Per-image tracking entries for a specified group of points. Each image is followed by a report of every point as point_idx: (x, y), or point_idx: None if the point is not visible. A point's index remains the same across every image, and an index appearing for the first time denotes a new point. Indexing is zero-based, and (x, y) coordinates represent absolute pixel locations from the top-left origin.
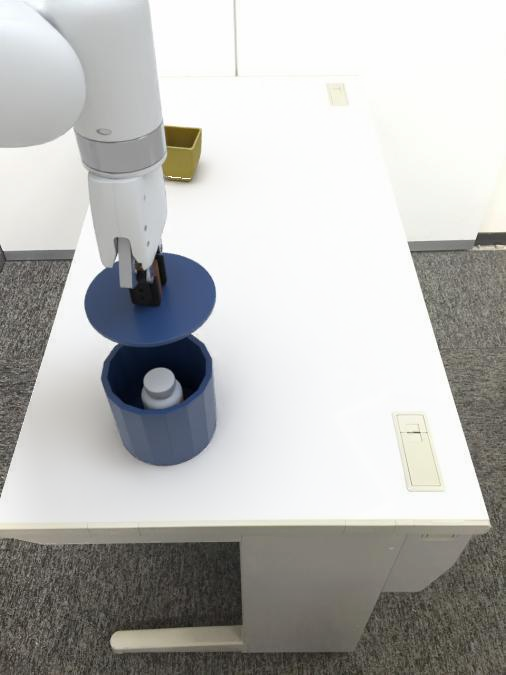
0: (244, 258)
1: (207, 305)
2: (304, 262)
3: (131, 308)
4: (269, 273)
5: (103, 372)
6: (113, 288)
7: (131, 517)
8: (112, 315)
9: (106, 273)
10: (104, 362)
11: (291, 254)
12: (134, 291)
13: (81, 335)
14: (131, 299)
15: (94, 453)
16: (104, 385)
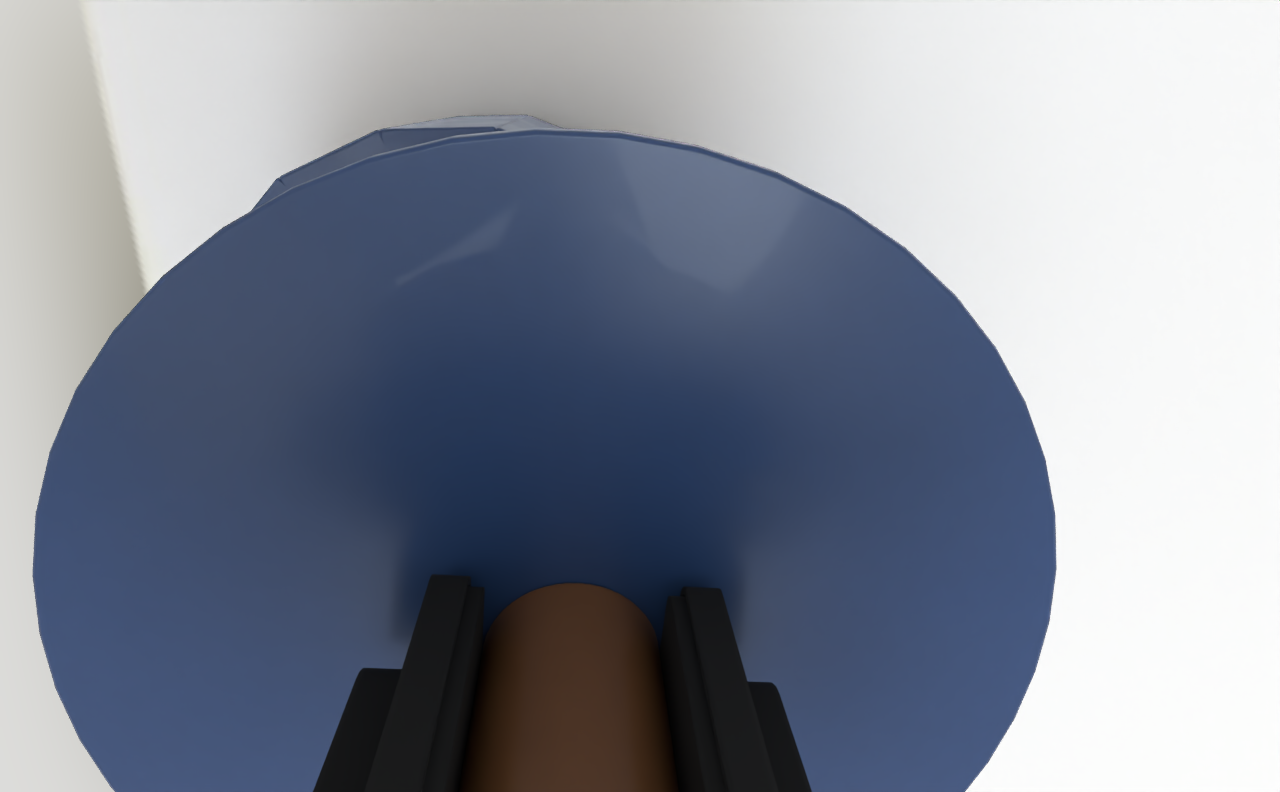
0: (1236, 497)
1: None
2: (1158, 676)
3: (402, 552)
4: (1135, 577)
5: (419, 138)
6: (637, 377)
7: (145, 206)
8: (304, 425)
9: (837, 284)
10: (489, 131)
11: (1208, 641)
12: (320, 772)
13: None
14: (424, 598)
15: (361, 32)
16: (335, 159)
